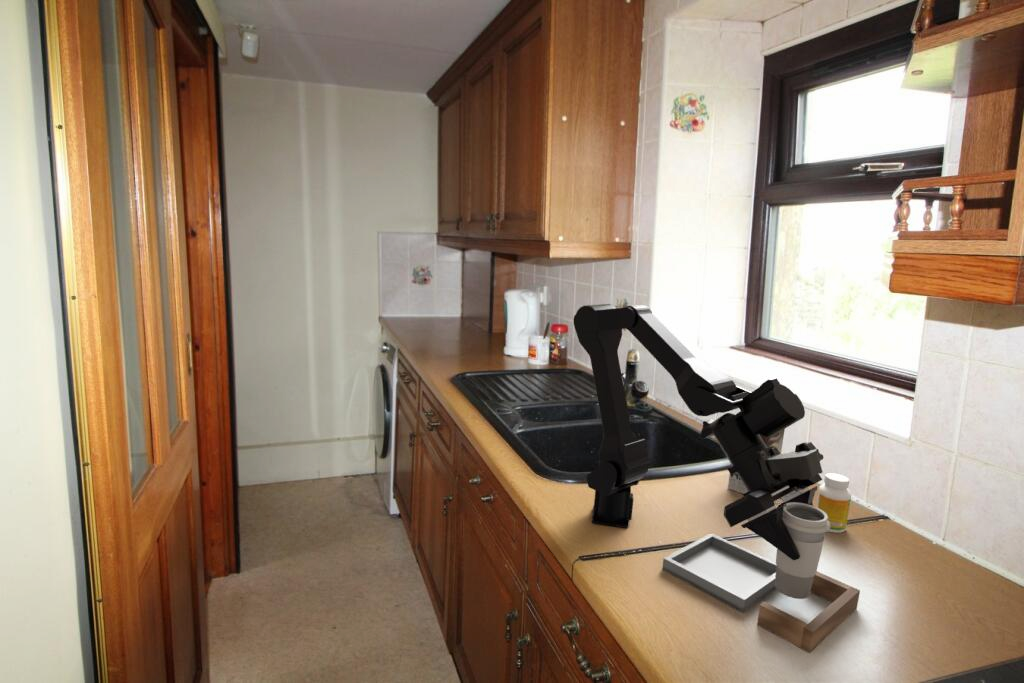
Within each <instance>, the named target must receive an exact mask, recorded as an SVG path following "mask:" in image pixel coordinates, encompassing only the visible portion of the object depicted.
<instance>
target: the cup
mask: <svg viewBox="0 0 1024 683" xmlns="http://www.w3.org/2000/svg"><path fill="white" fill-rule="evenodd" d="M782 519H783V522H784V524H785V526H786V528H787V530H788V532H789V534H790V536H791V537H792V539H793V541H794V543H795V545H796V547H797V550H798V552H799V554H800V558H799V559H797V560H792V559H791V558H789V557H788V556H787V555H785V554H784V553H783V552H781V551H780V550H778V549H777V548H776V558H775V562H776V565H777V566H776V576H775V587H776V589H775V590H776V591H778V592H779V593H780V594H782V595H784V596H786V597H789V598H792V599H796V600H797V599H798V600H804V599H807V598H809V597H810V594H811V592H810V591H811V587H812V583H813V579H814V575H815V574H816V571H817V570H818V567H819V562H820V558H821V555H822V552H823V551H822V550H823V546H824V543H825V533H827V532H828V530H829V529H830V523H829V521H828V516H827V514H826V513H825V512H824V511H822V510H821V509H819V508H817V507H816V505H815V506H814V505H813V506H812V505H808V504H804V503H796V502H791V503H786V504H784V508H783V516H782ZM817 572H818V571H817Z"/></svg>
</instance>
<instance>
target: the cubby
mask: <svg viewBox="0 0 1024 683" xmlns="http://www.w3.org/2000/svg"><path fill="white" fill-rule="evenodd" d="M860 592H861V590H860V589H858V588H856V587H853V586H851V585H849V584H847V583H845V582H842V581H840V580H838V579H835V578H833V577H831V576H828V575H827V574H824V573H821V572H820V571H816V574H815V575H814V579H813V583H812V587H811V591H810V594H811V593H812V594H813V595H816V596H818V597H820V598H823V599H825V600H826V601H829V602H831V603H830V604H829V605H828V606H826V608H824V609H823V610H822V611H821V612H820V613H819V614H818V615H816V616H815V617H814V618H813V619H811V621H809V622H805V621H804V620H801V619H799V618H798V617H795V615H794V616H793V615H792V614H790V613H787V612H786V611H783V610H782V609H780V608H777V607H776V606H774V605H772V604H770V603H768V602H766V601H762V602H761V603H760V604H759V608H758V614H757V622H756V624H757V626H760V627H761V628H763V629H765V630H766V631H769V632H770V633H772V634H774V635H776V636H777V637H780V638H781V639H784V640H785V641H787V642H788V643H791V644H792V645H794V646H797V647H798V648H800V649H802V650H803V651H805V652H807V653H809V654H810V653H811V652H812V651H814V649H816V647H818V646H819V645H820V644H821V643H822V642H823V641H824V640H825V639H826V638H827V637H828V636H830V635H831V634H832V633H833V632H834V631H835V630H836V629H837V628H838V627H839V626H841V624H842V623H844V622H845V621H846V620H847V619H848V618H849V617H850V616H851V615H853V613H854V612H856V611H857V609H858V605H859V604H858V603H859V599H860Z"/></svg>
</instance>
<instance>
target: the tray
mask: <svg viewBox="0 0 1024 683" xmlns="http://www.w3.org/2000/svg"><path fill="white" fill-rule="evenodd" d="M776 566H777V565H776V561H774V560H771V559H769V558H767V557H765V556H763V555H760V554H758V553H756V552H754V551H752V550H749V549H747V548H745V547H743V546H741V545H738V544H736V543H733V542H732V541H729V540H727V539H724V538H723V537H720V536H718V535H716V534H714V533H709V534H707V535H705V536H702V537H701V538H699V539H698V540H695V541H693V542H691V543H690V544H688V545H686V546H684V547H682V548H680V549H677V551H674V552H672V553H670V554H668V555H666V556H665V557H663V560H662V571H664V572H665V573H668V574H669V575H671V576H673V577H674V578H676V579H678V580H680V581H683V582H685V583H686V584H688V585H690V586H692V587H694V588H695V589H697V590H699V591H701V592H703V593H705V594H707V595H708V596H711V597H712V598H714V599H716V600H718V601H720V602H722V603H724V604H726V605H728V606H729V607H731V608H732V609H735V610H737V611H738V612H741V613H744V612H746V611H748V610H749V609H750V608H752V607H753V606H754V605H755V604H757V603H758V602H760V601H761V600H763V599H764V598H765V597H767V596H768V595H769V594H770V593H772V592H774V591H775V590H777V589H776V587H775V576H776Z"/></svg>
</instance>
